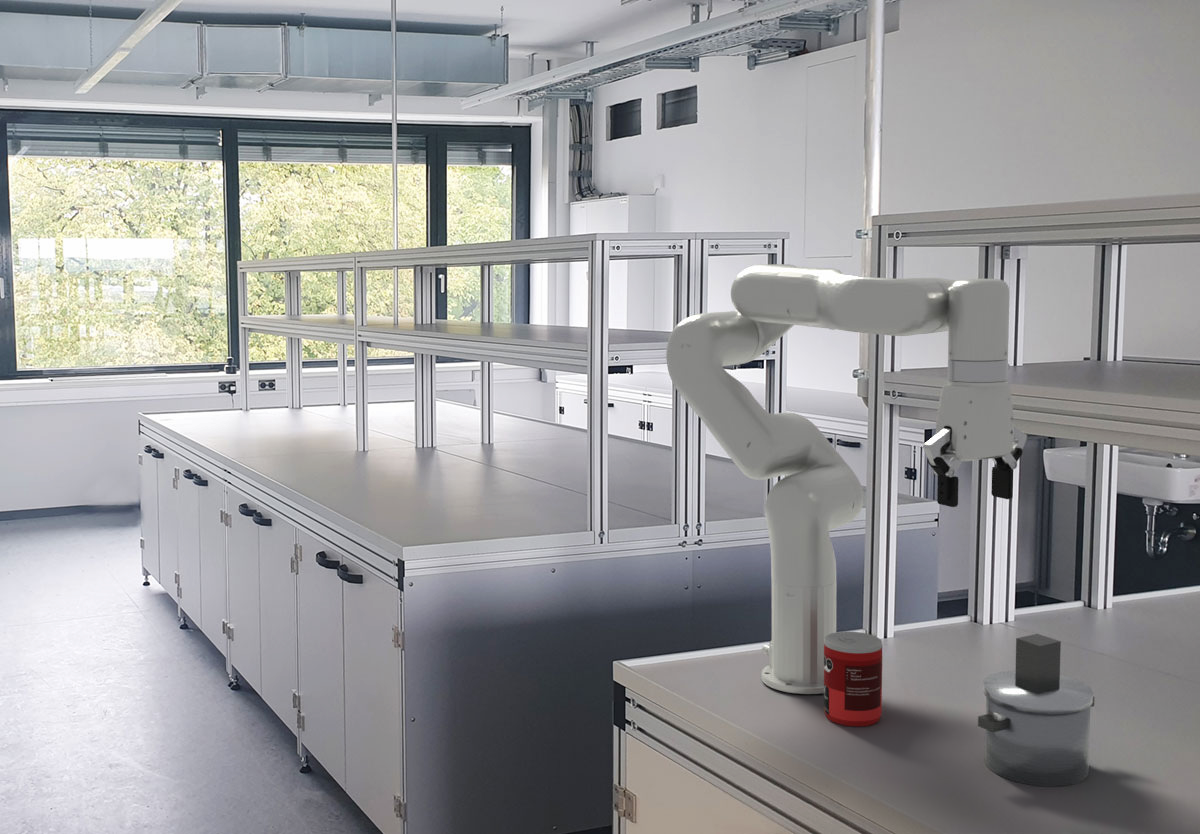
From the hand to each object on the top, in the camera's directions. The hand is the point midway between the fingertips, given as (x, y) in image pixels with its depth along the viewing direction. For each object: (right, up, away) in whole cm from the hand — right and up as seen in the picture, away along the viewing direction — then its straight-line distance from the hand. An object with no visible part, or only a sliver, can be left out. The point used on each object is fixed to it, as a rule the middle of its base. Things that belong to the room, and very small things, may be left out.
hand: (975, 501), depth 158 cm
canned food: (-15, -30, +6) cm, 34 cm away
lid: (+4, -23, -12) cm, 26 cm away
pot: (+4, -32, -11) cm, 34 cm away
